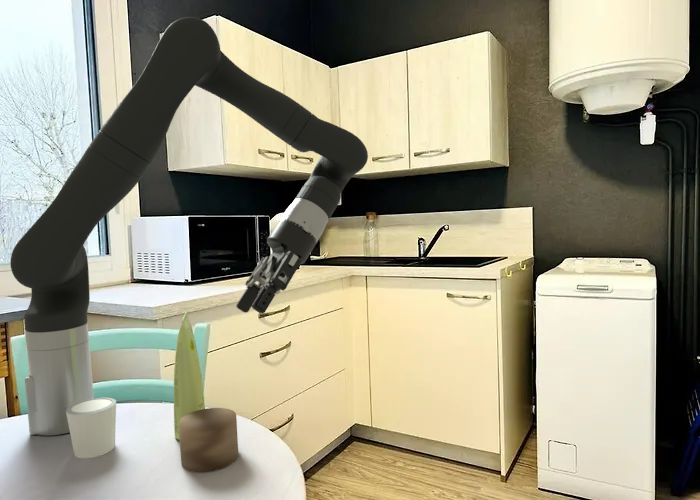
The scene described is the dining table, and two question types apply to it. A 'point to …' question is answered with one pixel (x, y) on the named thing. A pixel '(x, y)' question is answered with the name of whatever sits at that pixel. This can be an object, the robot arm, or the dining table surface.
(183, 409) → the tube
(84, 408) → the white cup
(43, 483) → the dining table surface
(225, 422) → the walnut block
